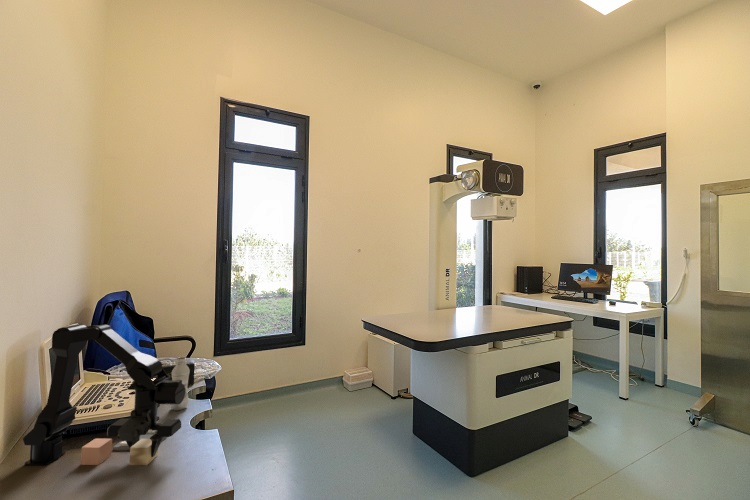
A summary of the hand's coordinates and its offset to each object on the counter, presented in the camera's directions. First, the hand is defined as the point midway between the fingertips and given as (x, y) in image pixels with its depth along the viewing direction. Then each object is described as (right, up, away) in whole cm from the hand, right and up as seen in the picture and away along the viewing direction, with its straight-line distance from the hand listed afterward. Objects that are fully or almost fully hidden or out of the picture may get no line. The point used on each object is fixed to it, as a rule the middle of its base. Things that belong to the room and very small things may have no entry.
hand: (144, 456), depth 102 cm
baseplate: (-7, -1, +10) cm, 12 cm away
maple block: (0, -1, 0) cm, 1 cm away
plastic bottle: (-9, -2, +35) cm, 36 cm away
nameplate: (-27, -3, +57) cm, 63 cm away
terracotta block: (-14, -1, 0) cm, 14 cm away
